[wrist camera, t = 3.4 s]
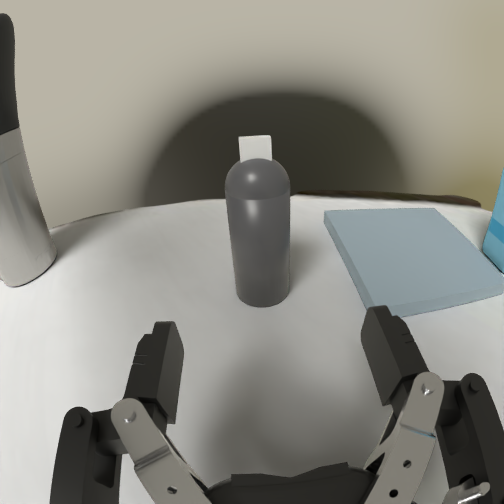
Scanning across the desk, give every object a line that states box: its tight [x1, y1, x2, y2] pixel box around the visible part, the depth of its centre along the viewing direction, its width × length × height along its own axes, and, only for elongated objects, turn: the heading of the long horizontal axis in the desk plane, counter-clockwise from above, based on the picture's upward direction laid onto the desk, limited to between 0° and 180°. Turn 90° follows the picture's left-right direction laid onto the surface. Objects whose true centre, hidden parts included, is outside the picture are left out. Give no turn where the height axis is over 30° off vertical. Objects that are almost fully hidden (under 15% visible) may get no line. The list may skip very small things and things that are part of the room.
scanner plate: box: [324, 208, 504, 317], centre depth 26 cm, size 16×16×2 cm
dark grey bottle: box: [225, 135, 290, 307], centre depth 21 cm, size 4×4×12 cm
